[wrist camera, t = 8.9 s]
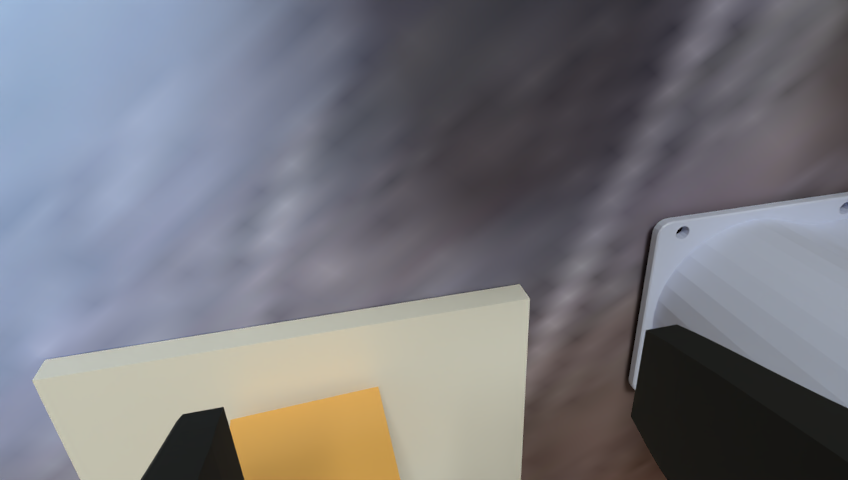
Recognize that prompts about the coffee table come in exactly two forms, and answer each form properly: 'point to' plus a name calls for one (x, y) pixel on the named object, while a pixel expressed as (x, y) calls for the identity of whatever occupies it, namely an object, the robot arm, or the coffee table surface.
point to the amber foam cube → (318, 440)
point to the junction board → (315, 384)
